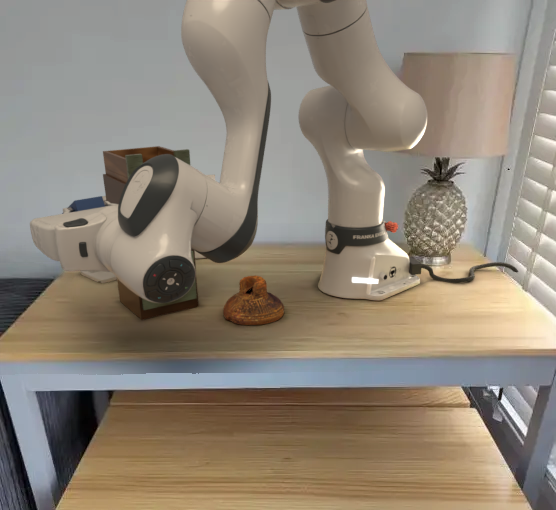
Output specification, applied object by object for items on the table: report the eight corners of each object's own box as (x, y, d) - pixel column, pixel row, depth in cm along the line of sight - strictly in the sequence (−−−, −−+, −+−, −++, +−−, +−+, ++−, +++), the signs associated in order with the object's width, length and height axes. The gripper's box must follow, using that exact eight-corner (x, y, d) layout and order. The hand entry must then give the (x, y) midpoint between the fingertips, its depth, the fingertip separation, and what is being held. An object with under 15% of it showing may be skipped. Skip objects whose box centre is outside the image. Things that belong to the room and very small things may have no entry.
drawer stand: (174, 289, 130) (160, 141, 116) (202, 309, 120) (191, 149, 106) (120, 301, 124) (98, 146, 110) (145, 323, 114) (125, 156, 100)
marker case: (78, 238, 112) (73, 221, 111) (107, 215, 95) (101, 195, 95) (54, 242, 110) (49, 225, 109) (80, 220, 93) (73, 199, 92)
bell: (296, 317, 116) (296, 280, 113) (242, 332, 110) (240, 294, 107) (263, 298, 125) (263, 264, 121) (211, 311, 119) (209, 275, 116)
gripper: (184, 205, 90) (144, 179, 100) (45, 230, 80) (15, 199, 90) (186, 245, 94) (148, 217, 103) (53, 274, 84) (24, 240, 93)
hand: (85, 209), depth 96 cm, fingers closed on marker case, 4 cm apart
